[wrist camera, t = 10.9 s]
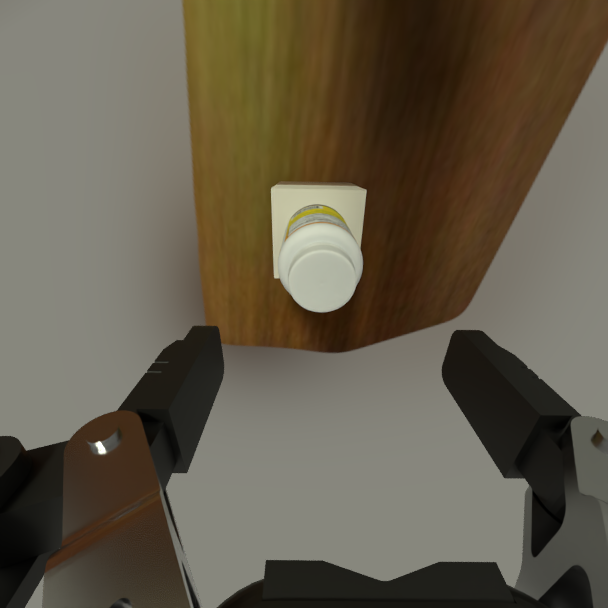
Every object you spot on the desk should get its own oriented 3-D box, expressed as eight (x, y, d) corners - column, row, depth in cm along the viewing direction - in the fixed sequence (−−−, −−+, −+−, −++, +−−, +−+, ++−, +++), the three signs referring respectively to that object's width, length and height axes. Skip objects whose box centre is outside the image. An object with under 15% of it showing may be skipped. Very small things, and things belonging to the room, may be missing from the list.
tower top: (276, 184, 27) (271, 188, 23) (356, 185, 28) (366, 190, 23) (278, 261, 31) (274, 278, 27) (349, 262, 31) (356, 279, 27)
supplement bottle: (325, 274, 26) (334, 338, 18) (274, 245, 25) (256, 298, 16) (360, 224, 24) (391, 269, 15) (306, 188, 23) (305, 214, 14)
